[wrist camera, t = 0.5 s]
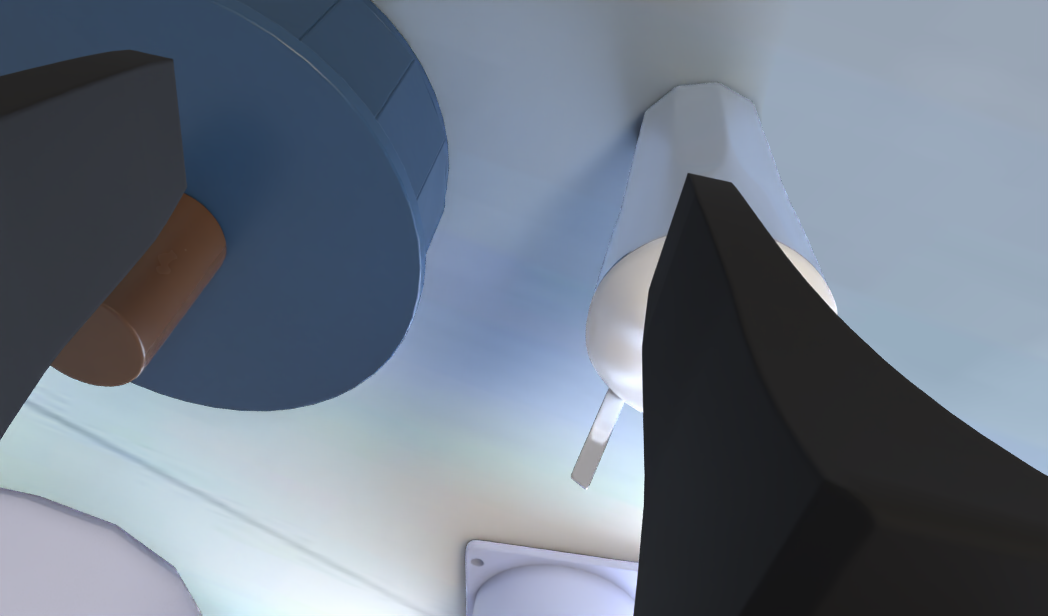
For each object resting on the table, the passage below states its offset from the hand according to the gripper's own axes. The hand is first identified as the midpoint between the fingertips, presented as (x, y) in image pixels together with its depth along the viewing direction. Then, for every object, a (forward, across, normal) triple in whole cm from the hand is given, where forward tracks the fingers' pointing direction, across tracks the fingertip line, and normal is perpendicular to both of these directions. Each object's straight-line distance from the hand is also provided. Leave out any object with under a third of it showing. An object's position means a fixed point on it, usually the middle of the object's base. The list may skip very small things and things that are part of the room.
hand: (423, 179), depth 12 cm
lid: (+6, +7, +6) cm, 11 cm away
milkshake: (+10, -5, +4) cm, 12 cm away
